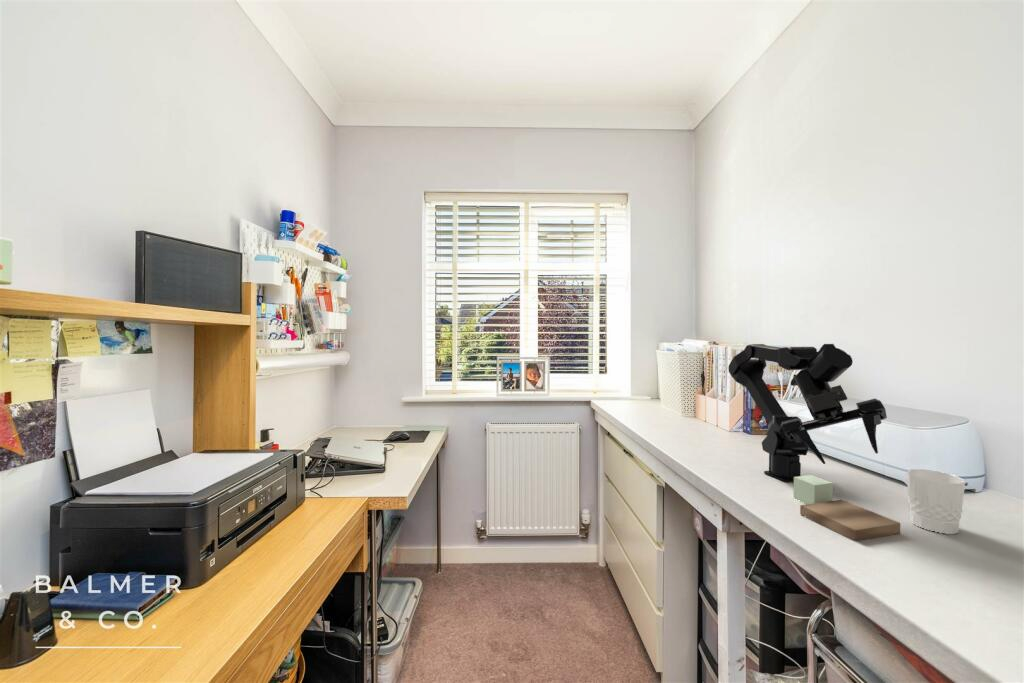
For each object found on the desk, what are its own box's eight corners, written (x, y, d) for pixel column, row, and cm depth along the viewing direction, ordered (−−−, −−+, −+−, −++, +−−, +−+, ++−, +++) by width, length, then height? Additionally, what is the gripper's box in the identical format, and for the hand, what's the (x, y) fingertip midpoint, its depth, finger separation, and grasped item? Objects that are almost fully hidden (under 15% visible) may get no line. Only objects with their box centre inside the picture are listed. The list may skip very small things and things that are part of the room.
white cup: (945, 539, 77) (947, 485, 76) (895, 519, 84) (897, 471, 84) (973, 533, 79) (975, 480, 79) (923, 514, 86) (924, 467, 86)
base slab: (800, 514, 87) (800, 505, 87) (841, 508, 90) (841, 499, 90) (854, 541, 76) (855, 530, 76) (900, 533, 79) (900, 523, 79)
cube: (793, 498, 95) (793, 477, 95) (811, 496, 96) (811, 474, 96) (814, 507, 90) (814, 485, 90) (832, 505, 92) (832, 482, 91)
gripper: (764, 391, 96) (791, 457, 86) (861, 363, 87) (904, 433, 77) (775, 409, 103) (802, 472, 93) (867, 385, 93) (906, 451, 84)
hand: (849, 458), depth 87 cm, fingers open, 9 cm apart
